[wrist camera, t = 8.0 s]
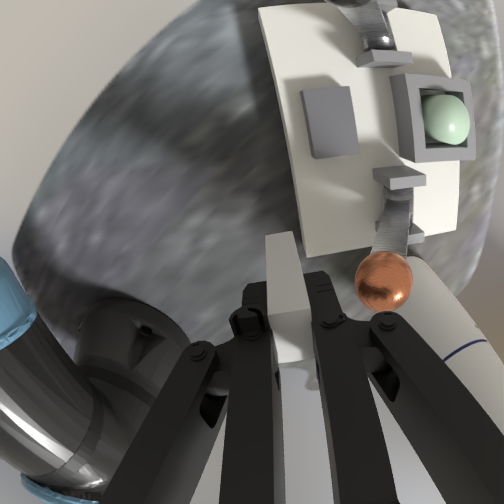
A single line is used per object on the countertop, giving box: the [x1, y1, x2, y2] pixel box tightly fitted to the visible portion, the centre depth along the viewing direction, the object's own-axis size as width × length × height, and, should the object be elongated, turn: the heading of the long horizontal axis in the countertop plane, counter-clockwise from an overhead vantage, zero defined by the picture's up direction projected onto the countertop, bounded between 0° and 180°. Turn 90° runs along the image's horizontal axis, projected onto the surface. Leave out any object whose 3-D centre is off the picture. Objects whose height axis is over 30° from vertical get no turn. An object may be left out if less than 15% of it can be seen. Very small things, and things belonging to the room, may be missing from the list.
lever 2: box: [354, 185, 414, 312], centre depth 15 cm, size 3×3×13 cm
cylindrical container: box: [392, 256, 504, 435], centre depth 16 cm, size 7×7×25 cm
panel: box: [258, 0, 476, 258], centre depth 17 cm, size 15×20×6 cm
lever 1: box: [324, 0, 397, 52], centre depth 9 cm, size 3×3×13 cm
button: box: [420, 95, 470, 145], centre depth 15 cm, size 4×4×3 cm
